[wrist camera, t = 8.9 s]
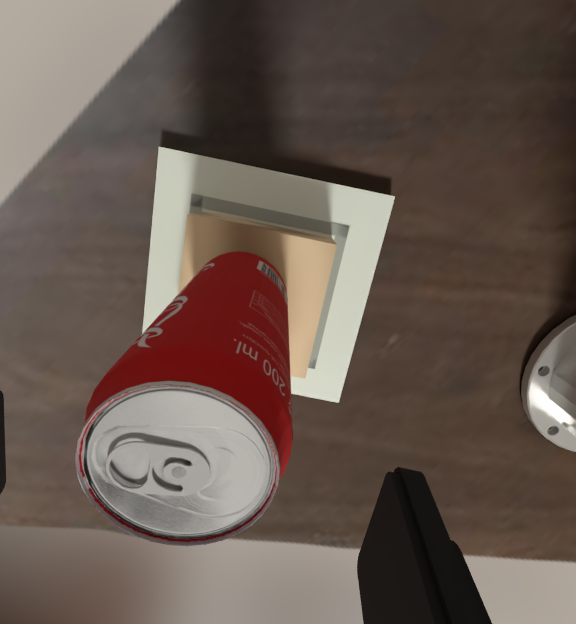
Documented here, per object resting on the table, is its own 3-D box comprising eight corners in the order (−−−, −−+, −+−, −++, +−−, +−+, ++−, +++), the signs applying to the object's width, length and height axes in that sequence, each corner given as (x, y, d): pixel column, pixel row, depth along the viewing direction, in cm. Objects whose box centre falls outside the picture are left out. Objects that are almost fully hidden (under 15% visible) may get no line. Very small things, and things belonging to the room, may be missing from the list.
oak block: (332, 237, 26) (337, 244, 22) (304, 354, 29) (305, 378, 25) (204, 211, 26) (187, 213, 22) (188, 331, 28) (171, 352, 24)
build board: (391, 196, 26) (395, 196, 25) (337, 395, 31) (338, 403, 30) (165, 148, 26) (158, 146, 24) (145, 357, 30) (139, 364, 29)
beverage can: (219, 232, 22) (69, 297, 8) (315, 283, 23) (339, 430, 8) (180, 316, 24) (-3, 497, 9) (271, 361, 24) (228, 594, 10)
